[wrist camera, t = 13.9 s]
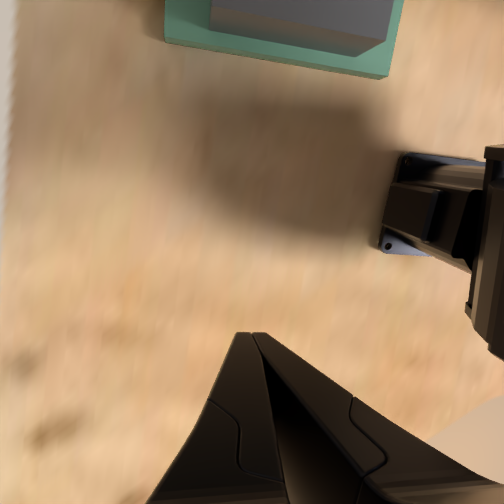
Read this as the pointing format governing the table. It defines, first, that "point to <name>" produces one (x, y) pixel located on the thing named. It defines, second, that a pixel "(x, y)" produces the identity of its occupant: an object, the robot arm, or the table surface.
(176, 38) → the board
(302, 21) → the connector socket
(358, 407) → the robot arm
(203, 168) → the table surface
